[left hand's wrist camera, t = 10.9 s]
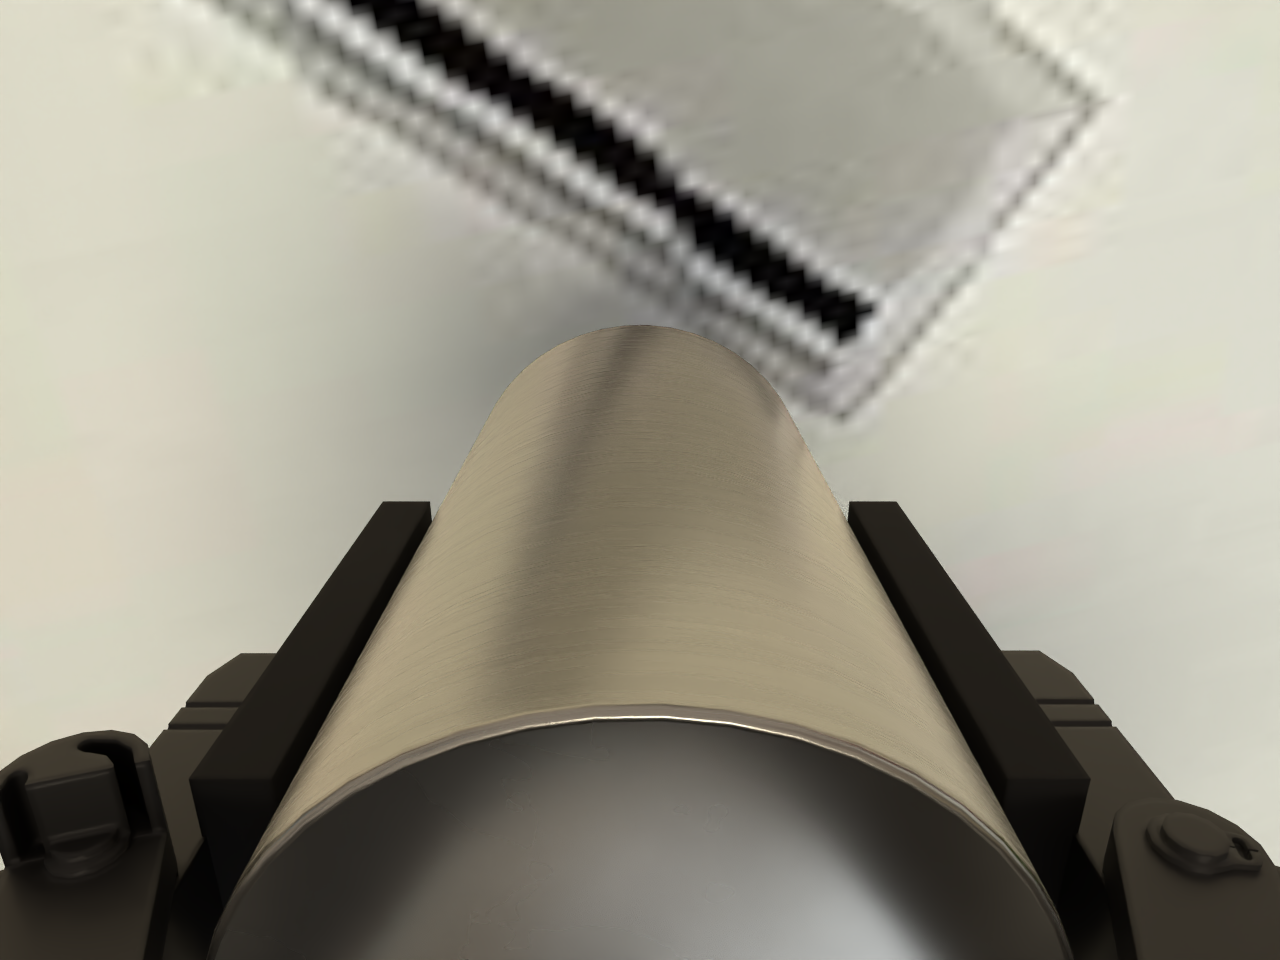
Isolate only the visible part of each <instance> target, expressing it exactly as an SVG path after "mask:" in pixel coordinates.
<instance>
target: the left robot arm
mask: <svg viewBox="0 0 1280 960" xmlns="http://www.w3.org/2000/svg"><path fill="white" fill-rule="evenodd" d="M431 523H432V518H431V508H430V502H382V504H381V505H380V507H379V508H378V509H377V511H376V512H375V514H374V515H373V517H372V518H371V519H370V521H369V522H368V524H367V525H366V527H365V528H364V529H363V531H362V532H361V534H360V535H359V537H358V538H357V539H356V541H355V542H354V544H353V545H352V546H351V548H350V549H349V551H348V552H347V554H346V555H345V556H344V558H343V559H342V561H341V562H340V564H339V565H338V566H337V568H336V569H335V571H334V572H333V574H332V575H331V576H330V578H329V579H328V581H327V582H326V584H325V585H324V586H323V588H322V589H321V591H320V592H319V594H318V595H317V596H316V598H315V599H314V601H313V602H312V604H311V605H310V606H309V608H308V609H307V611H306V612H305V613H304V615H303V616H302V618H301V619H300V621H299V622H298V623H297V625H296V626H295V628H294V629H293V631H292V632H291V633H290V635H289V636H288V638H287V639H286V641H285V642H284V643H283V645H282V646H281V648H280V649H279V651H278V652H277V653H241V654H239V655H238V656H236V657H235V658H233V659H232V660H230V661H229V662H227V663H226V664H224V665H223V666H221V667H220V668H218V669H217V670H215V671H214V672H212V673H211V674H209V675H208V676H207V677H206V678H205V679H204V680H203V682H202V683H201V684H200V685H199V687H198V688H197V689H196V690H195V692H194V693H193V694H192V695H191V697H190V698H189V699H188V700H187V702H186V707H185V708H181V709H180V710H179V712H178V713H177V714H176V715H175V717H174V718H173V719H172V720H171V722H170V723H169V724H168V725H169V727H168V730H163V732H162V733H161V734H160V735H159V737H158V738H157V739H156V740H155V742H154V743H153V744H152V745H151V747H150V748H148V744H146V743H145V742H144V741H143V740H141V739H140V738H139V737H137V736H136V735H135V734H131V733H126V732H120V731H115V730H107V731H95V732H84V733H80V734H76V735H73V736H69V737H66V738H62V739H58V740H55V741H51V742H49V743H47V744H45V745H43V746H41V747H39V748H37V749H34V750H32V751H30V752H28V753H26V754H24V755H22V756H20V757H19V758H17V759H16V760H15V761H13V762H12V763H10V764H9V765H8V766H6V767H5V768H4V769H2V770H1V771H0V853H1V856H2V859H3V862H4V865H5V869H4V870H1V871H0V960H206V957H207V954H208V950H209V946H210V943H211V939H212V936H213V932H214V929H215V926H216V924H217V922H218V920H219V918H220V916H221V914H222V912H223V910H224V908H225V906H226V904H227V902H228V900H229V898H230V896H231V894H232V892H233V890H234V888H235V886H236V885H237V883H238V881H239V879H240V877H241V875H242V873H243V872H244V870H245V868H246V866H247V864H248V862H249V860H250V859H251V857H252V855H253V853H254V851H255V849H256V847H257V846H258V844H259V842H260V840H261V838H262V836H263V834H264V833H265V831H266V829H267V827H268V825H269V823H270V821H271V820H272V818H273V816H274V814H275V812H276V810H277V808H278V807H279V805H280V803H281V801H282V799H283V797H284V796H285V794H286V792H287V790H288V788H289V786H290V784H291V783H292V781H293V779H294V777H295V775H296V773H297V771H298V770H299V768H300V766H301V764H302V762H303V760H304V758H305V757H306V755H307V753H308V751H309V749H310V747H311V745H312V744H313V742H314V740H315V738H316V736H317V734H318V732H319V731H320V729H321V727H322V725H323V723H324V721H325V719H326V718H327V716H328V714H329V712H330V710H331V708H332V706H333V705H334V703H335V701H336V699H337V697H338V695H339V694H340V692H341V690H342V688H343V686H344V684H345V682H346V681H347V679H348V677H349V675H350V673H351V671H352V669H353V668H354V666H355V664H356V662H357V660H358V658H359V656H360V655H361V653H362V651H363V649H364V647H365V645H366V643H367V642H368V640H369V638H370V636H371V634H372V632H373V630H374V629H375V627H376V625H377V623H378V621H379V619H380V617H381V616H382V614H383V612H384V610H385V608H386V606H387V604H388V603H389V601H390V599H391V597H392V595H393V593H394V592H395V590H396V588H397V586H398V584H399V582H400V580H401V579H402V577H403V575H404V573H405V571H406V569H407V567H408V566H409V564H410V562H411V560H412V558H413V556H414V554H415V553H416V551H417V549H418V547H419V545H420V543H421V541H422V540H423V538H424V536H425V534H426V532H427V530H428V528H429V527H430V525H431ZM848 523H849V525H850V527H851V529H852V531H853V533H854V535H855V536H856V538H857V540H858V542H859V544H860V546H861V548H862V549H863V551H864V553H865V555H866V557H867V559H868V561H869V562H870V564H871V566H872V568H873V570H874V572H875V574H876V575H877V577H878V579H879V581H880V583H881V585H882V587H883V588H884V590H885V592H886V594H887V596H888V598H889V600H890V601H891V603H892V605H893V607H894V609H895V611H896V613H897V614H898V616H899V618H900V620H901V622H902V624H903V626H904V627H905V629H906V631H907V633H908V635H909V637H910V639H911V640H912V642H913V644H914V646H915V648H916V650H917V652H918V653H919V655H920V657H921V659H922V661H923V663H924V665H925V666H926V668H927V670H928V672H929V674H930V676H931V678H932V679H933V681H934V683H935V685H936V687H937V689H938V691H939V692H940V694H941V696H942V698H943V700H944V702H945V704H946V705H947V707H948V709H949V711H950V713H951V715H952V717H953V718H954V720H955V722H956V724H957V726H958V728H959V730H960V731H961V733H962V735H963V737H964V739H965V741H966V743H967V744H968V746H969V748H970V750H971V752H972V754H973V756H974V757H975V759H976V761H977V763H978V765H979V767H980V769H981V770H982V772H983V774H984V776H985V778H986V780H987V782H988V783H989V785H990V787H991V789H992V791H993V793H994V795H995V796H996V798H997V800H998V802H999V804H1000V806H1001V808H1002V809H1003V811H1004V813H1005V815H1006V817H1007V819H1008V821H1009V822H1010V824H1011V826H1012V828H1013V830H1014V832H1015V834H1016V835H1017V837H1018V839H1019V841H1020V843H1021V845H1022V847H1023V848H1024V850H1025V852H1026V854H1027V856H1028V858H1029V860H1030V861H1031V863H1032V865H1033V867H1034V869H1035V871H1036V873H1037V874H1038V876H1039V878H1040V880H1041V882H1042V884H1043V886H1044V887H1045V889H1046V891H1047V893H1048V895H1049V897H1050V899H1051V900H1052V902H1053V904H1054V906H1055V908H1056V910H1057V912H1058V913H1059V916H1060V919H1061V922H1062V924H1063V927H1064V930H1065V933H1066V936H1067V939H1068V941H1069V944H1070V947H1071V950H1072V953H1073V956H1074V960H1280V867H1278V866H1275V865H1274V864H1273V862H1272V861H1271V859H1270V858H1269V856H1268V855H1267V853H1266V852H1265V850H1264V849H1263V847H1262V846H1261V845H1260V844H1259V843H1258V842H1257V841H1256V840H1254V839H1253V838H1252V837H1251V836H1250V835H1248V834H1247V833H1246V832H1245V831H1243V830H1242V829H1241V828H1240V827H1239V826H1237V825H1236V824H1234V823H1232V822H1230V821H1228V820H1226V819H1225V818H1223V817H1221V816H1219V815H1217V814H1215V813H1213V812H1211V811H1210V810H1207V809H1204V808H1201V807H1198V806H1195V805H1192V804H1188V803H1185V802H1182V801H1179V800H1175V799H1174V798H1173V797H1172V795H1171V794H1170V793H1169V792H1168V791H1167V789H1166V788H1165V787H1164V786H1163V784H1162V783H1161V782H1160V781H1159V779H1158V778H1157V777H1156V776H1155V774H1154V773H1153V772H1152V771H1151V769H1150V768H1149V767H1148V766H1147V764H1146V763H1145V762H1144V761H1143V759H1142V758H1141V757H1140V756H1139V755H1138V753H1137V752H1136V751H1135V750H1134V748H1133V747H1132V746H1131V745H1130V743H1129V742H1128V741H1127V740H1126V738H1125V737H1124V736H1123V735H1122V733H1121V732H1120V731H1119V730H1118V728H1117V727H1112V721H1111V720H1110V719H1109V717H1108V716H1107V715H1106V714H1105V712H1104V711H1103V710H1102V709H1101V707H1100V706H1099V705H1095V704H1094V699H1093V697H1092V696H1091V695H1090V694H1089V692H1088V691H1087V690H1086V689H1085V688H1084V686H1083V685H1082V684H1081V683H1080V681H1079V680H1078V679H1077V678H1076V676H1075V675H1074V674H1073V673H1072V672H1070V671H1069V670H1067V669H1066V668H1064V667H1063V666H1061V665H1060V664H1058V663H1057V662H1055V661H1054V660H1052V659H1051V658H1049V657H1048V656H1046V655H1045V654H1043V653H1042V652H1040V651H1001V650H1000V649H999V647H998V646H997V644H996V643H995V641H994V640H993V639H992V637H991V636H990V634H989V633H988V631H987V630H986V629H985V627H984V626H983V624H982V623H981V621H980V620H979V619H978V617H977V616H976V614H975V613H974V611H973V610H972V609H971V607H970V606H969V604H968V603H967V601H966V600H965V599H964V597H963V596H962V594H961V593H960V592H959V590H958V589H957V587H956V586H955V584H954V583H953V582H952V580H951V579H950V577H949V576H948V574H947V573H946V572H945V570H944V569H943V567H942V566H941V564H940V563H939V562H938V560H937V559H936V557H935V556H934V554H933V553H932V552H931V550H930V549H929V547H928V546H927V544H926V543H925V542H924V540H923V539H922V537H921V536H920V534H919V533H918V532H917V530H916V529H915V527H914V526H913V524H912V523H911V522H910V520H909V519H908V517H907V516H906V515H905V513H904V512H903V510H902V509H901V507H900V506H899V505H898V503H897V502H849V512H848Z"/></svg>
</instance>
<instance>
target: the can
mask: <svg viewBox="0 0 1280 960" xmlns="http://www.w3.org/2000/svg"><path fill="white" fill-rule="evenodd" d="M206 960H1074V956H1073V953H1072V950H1071V947H1070V944H1069V941H1068V939H1067V936H1066V933H1065V930H1064V927H1063V924H1062V922H1061V919H1060V916H1059V913H1058V912H1057V910H1056V908H1055V906H1054V904H1053V902H1052V900H1051V899H1050V897H1049V895H1048V893H1047V891H1046V889H1045V887H1044V886H1043V884H1042V882H1041V880H1040V878H1039V876H1038V874H1037V873H1036V871H1035V869H1034V867H1033V865H1032V863H1031V861H1030V860H1029V858H1028V856H1027V854H1026V852H1025V850H1024V848H1023V847H1022V845H1021V843H1020V841H1019V839H1018V837H1017V835H1016V834H1015V832H1014V830H1013V828H1012V826H1011V824H1010V822H1009V821H1008V819H1007V817H1006V815H1005V813H1004V811H1003V809H1002V808H1001V806H1000V804H999V802H998V800H997V798H996V796H995V795H994V793H993V791H992V789H991V787H990V785H989V783H988V782H987V780H986V778H985V776H984V774H983V772H982V770H981V769H980V767H979V765H978V763H977V761H976V759H975V757H974V756H973V754H972V752H971V750H970V748H969V746H968V744H967V743H966V741H965V739H964V737H963V735H962V733H961V731H960V730H959V728H958V726H957V724H956V722H955V720H954V718H953V717H952V715H951V713H950V711H949V709H948V707H947V705H946V704H945V702H944V700H943V698H942V696H941V694H940V692H939V691H938V689H937V687H936V685H935V683H934V681H933V679H932V678H931V676H930V674H929V672H928V670H927V668H926V666H925V665H924V663H923V661H922V659H921V657H920V655H919V653H918V652H917V650H916V648H915V646H914V644H913V642H912V640H911V639H910V637H909V635H908V633H907V631H906V629H905V627H904V626H903V624H902V622H901V620H900V618H899V616H898V614H897V613H896V611H895V609H894V607H893V605H892V603H891V601H890V600H889V598H888V596H887V594H886V592H885V590H884V588H883V587H882V585H881V583H880V581H879V579H878V577H877V575H876V574H875V572H874V570H873V568H872V566H871V564H870V562H869V561H868V559H867V557H866V555H865V553H864V551H863V549H862V548H861V546H860V544H859V542H858V540H857V538H856V536H855V535H854V533H853V531H852V529H851V527H850V525H849V523H848V522H847V520H846V518H845V516H844V514H843V512H842V510H841V509H840V507H839V505H838V503H837V501H836V499H835V497H834V496H833V494H832V492H831V490H830V488H829V486H828V484H827V483H826V481H825V479H824V477H823V475H822V473H821V471H820V470H819V468H818V466H817V464H816V462H815V460H814V458H813V457H812V455H811V453H810V451H809V449H808V447H807V445H806V444H805V442H804V440H803V438H802V436H801V434H800V432H799V431H798V429H797V427H796V425H795V423H794V421H793V419H792V418H791V416H790V414H789V412H788V410H787V409H786V407H785V405H784V403H783V402H782V400H781V398H780V397H779V395H778V394H777V393H776V392H775V390H774V389H773V388H772V386H771V385H770V384H769V382H768V381H767V380H766V379H765V378H764V377H763V376H762V375H761V374H760V373H759V372H758V371H757V370H756V369H755V368H754V367H753V366H752V365H750V364H749V363H748V362H746V361H745V360H744V359H742V358H741V357H740V356H738V355H737V354H736V353H734V352H733V351H731V350H729V349H727V348H725V347H724V346H722V345H720V344H718V343H716V342H714V341H712V340H709V339H707V338H704V337H702V336H699V335H697V334H694V333H691V332H687V331H682V330H678V329H674V328H670V327H661V326H651V325H628V326H619V327H612V328H606V329H600V330H597V331H593V332H590V333H587V334H583V335H580V336H577V337H575V338H573V339H571V340H568V341H566V342H564V343H562V344H559V345H558V346H556V347H554V348H553V349H551V350H549V351H548V352H546V353H544V354H543V355H541V356H540V357H538V358H537V359H536V360H535V361H534V362H532V363H531V364H530V365H529V366H527V367H526V368H525V369H524V370H523V371H522V372H521V373H520V374H519V375H518V376H517V377H516V378H515V379H514V380H513V381H512V382H511V383H510V385H509V386H508V387H507V388H506V390H505V391H504V393H503V394H502V395H501V397H500V398H499V400H498V401H497V403H496V404H495V406H494V408H493V410H492V412H491V413H490V415H489V417H488V419H487V421H486V423H485V425H484V426H483V428H482V430H481V432H480V434H479V436H478V438H477V439H476V441H475V443H474V445H473V447H472V449H471V451H470V452H469V454H468V456H467V458H466V460H465V462H464V464H463V465H462V467H461V469H460V471H459V473H458V475H457V477H456V478H455V480H454V482H453V484H452V486H451V488H450V490H449V491H448V493H447V495H446V497H445V499H444V501H443V502H442V504H441V506H440V508H439V510H438V512H437V514H436V515H435V517H434V519H433V521H432V523H431V525H430V527H429V528H428V530H427V532H426V534H425V536H424V538H423V540H422V541H421V543H420V545H419V547H418V549H417V551H416V553H415V554H414V556H413V558H412V560H411V562H410V564H409V566H408V567H407V569H406V571H405V573H404V575H403V577H402V579H401V580H400V582H399V584H398V586H397V588H396V590H395V592H394V593H393V595H392V597H391V599H390V601H389V603H388V604H387V606H386V608H385V610H384V612H383V614H382V616H381V617H380V619H379V621H378V623H377V625H376V627H375V629H374V630H373V632H372V634H371V636H370V638H369V640H368V642H367V643H366V645H365V647H364V649H363V651H362V653H361V655H360V656H359V658H358V660H357V662H356V664H355V666H354V668H353V669H352V671H351V673H350V675H349V677H348V679H347V681H346V682H345V684H344V686H343V688H342V690H341V692H340V694H339V695H338V697H337V699H336V701H335V703H334V705H333V706H332V708H331V710H330V712H329V714H328V716H327V718H326V719H325V721H324V723H323V725H322V727H321V729H320V731H319V732H318V734H317V736H316V738H315V740H314V742H313V744H312V745H311V747H310V749H309V751H308V753H307V755H306V757H305V758H304V760H303V762H302V764H301V766H300V768H299V770H298V771H297V773H296V775H295V777H294V779H293V781H292V783H291V784H290V786H289V788H288V790H287V792H286V794H285V796H284V797H283V799H282V801H281V803H280V805H279V807H278V808H277V810H276V812H275V814H274V816H273V818H272V820H271V821H270V823H269V825H268V827H267V829H266V831H265V833H264V834H263V836H262V838H261V840H260V842H259V844H258V846H257V847H256V849H255V851H254V853H253V855H252V857H251V859H250V860H249V862H248V864H247V866H246V868H245V870H244V872H243V873H242V875H241V877H240V879H239V881H238V883H237V885H236V886H235V888H234V890H233V892H232V894H231V896H230V898H229V900H228V902H227V904H226V906H225V908H224V910H223V912H222V914H221V916H220V918H219V920H218V922H217V924H216V926H215V929H214V932H213V936H212V939H211V943H210V946H209V950H208V954H207V957H206Z"/></svg>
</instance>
